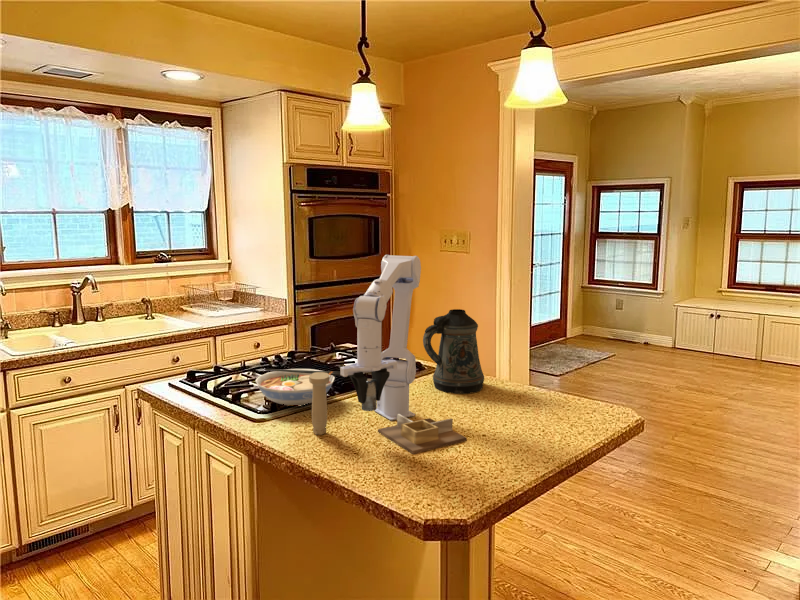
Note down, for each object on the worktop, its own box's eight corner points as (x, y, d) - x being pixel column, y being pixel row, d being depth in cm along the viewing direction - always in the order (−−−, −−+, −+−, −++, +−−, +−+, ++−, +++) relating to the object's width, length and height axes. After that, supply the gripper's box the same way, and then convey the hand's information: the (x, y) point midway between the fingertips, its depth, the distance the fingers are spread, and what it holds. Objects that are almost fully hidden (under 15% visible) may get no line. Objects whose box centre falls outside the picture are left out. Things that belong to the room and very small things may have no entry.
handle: (330, 428, 154) (330, 372, 152) (327, 437, 148) (327, 379, 146) (311, 428, 154) (311, 372, 152) (308, 437, 148) (307, 379, 146)
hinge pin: (358, 407, 145) (359, 379, 144) (371, 405, 147) (372, 377, 146) (366, 412, 142) (366, 383, 141) (379, 409, 144) (379, 381, 143)
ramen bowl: (237, 412, 166) (237, 383, 165) (272, 388, 188) (272, 363, 187) (323, 420, 160) (322, 390, 159) (348, 395, 182) (348, 369, 181)
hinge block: (377, 432, 152) (378, 417, 152) (429, 421, 161) (429, 407, 160) (412, 454, 139) (412, 438, 138) (466, 440, 147) (467, 426, 147)
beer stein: (494, 386, 193) (496, 310, 189) (457, 400, 179) (459, 317, 175) (453, 376, 204) (455, 304, 200) (415, 388, 190) (417, 311, 186)
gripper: (350, 353, 135) (350, 410, 137) (404, 346, 143) (403, 400, 145) (336, 346, 141) (336, 402, 143) (388, 340, 149) (388, 393, 151)
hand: (369, 401), depth 144 cm, fingers closed on hinge pin, 4 cm apart
